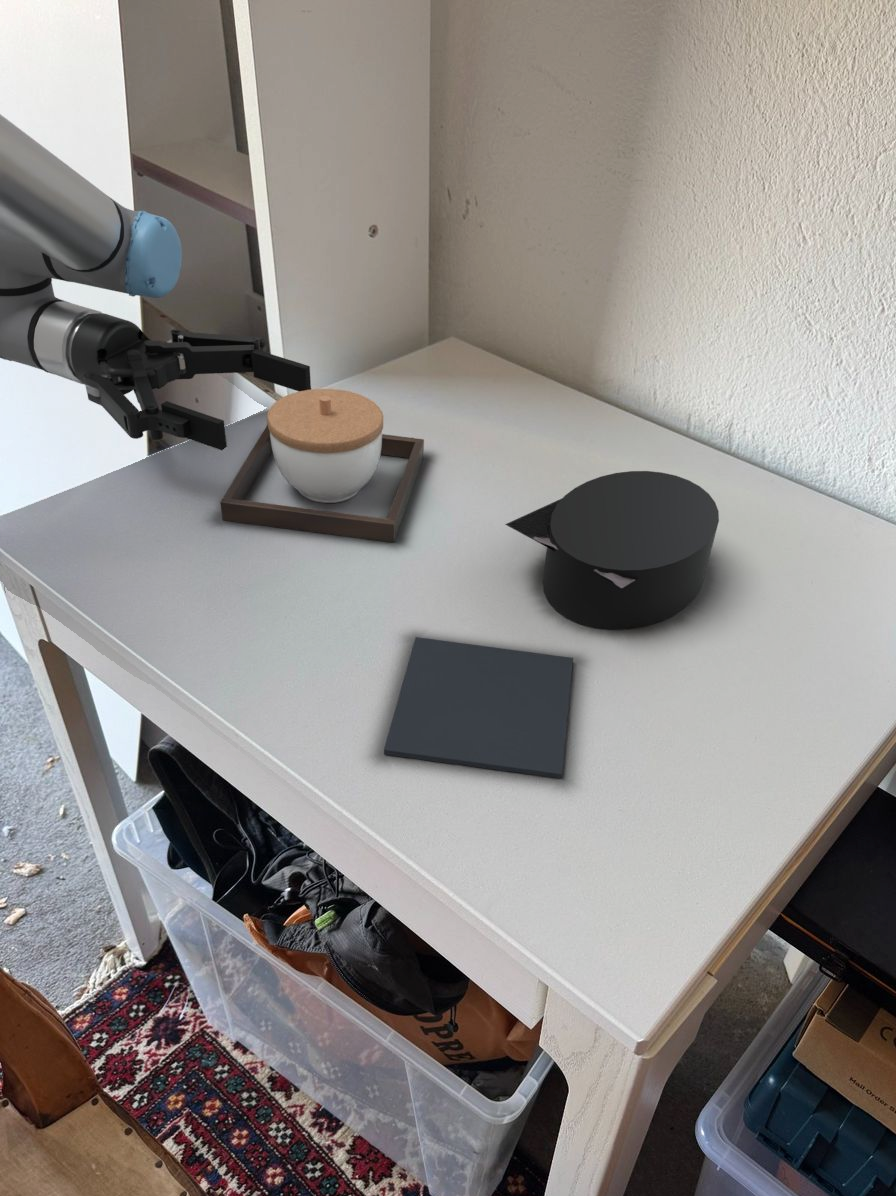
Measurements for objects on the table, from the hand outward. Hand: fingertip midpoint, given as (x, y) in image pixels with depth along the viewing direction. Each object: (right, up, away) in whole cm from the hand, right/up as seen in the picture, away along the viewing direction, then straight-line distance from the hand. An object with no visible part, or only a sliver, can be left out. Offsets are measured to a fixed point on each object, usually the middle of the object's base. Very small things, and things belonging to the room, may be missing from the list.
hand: (268, 406), depth 97 cm
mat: (+21, -28, -19) cm, 40 cm away
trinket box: (+5, -7, +3) cm, 9 cm away
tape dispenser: (+33, -16, -4) cm, 37 cm away
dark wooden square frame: (+5, -7, +2) cm, 9 cm away
